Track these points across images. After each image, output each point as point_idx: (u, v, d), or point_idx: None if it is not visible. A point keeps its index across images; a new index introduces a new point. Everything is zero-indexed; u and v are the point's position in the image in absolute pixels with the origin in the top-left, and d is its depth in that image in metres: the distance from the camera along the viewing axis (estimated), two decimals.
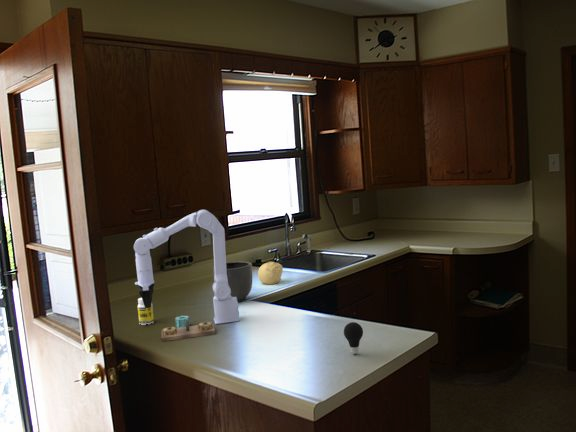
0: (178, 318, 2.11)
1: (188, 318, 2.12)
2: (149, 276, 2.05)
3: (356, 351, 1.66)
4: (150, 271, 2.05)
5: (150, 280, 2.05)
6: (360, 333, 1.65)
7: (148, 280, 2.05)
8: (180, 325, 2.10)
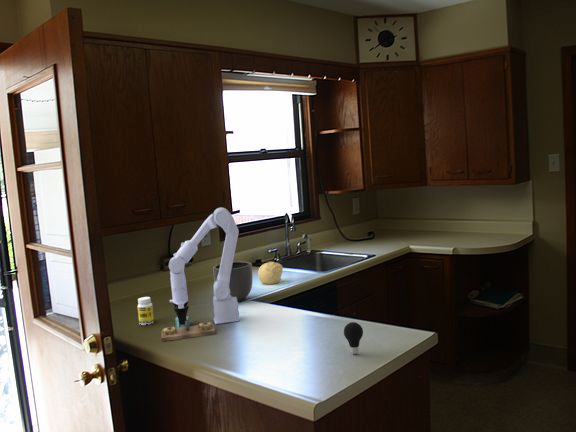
0: None
1: (188, 318, 2.12)
2: (184, 294, 2.09)
3: (356, 351, 1.66)
4: (185, 289, 2.10)
5: (185, 298, 2.10)
6: (360, 333, 1.65)
7: (183, 298, 2.09)
8: (180, 325, 2.10)
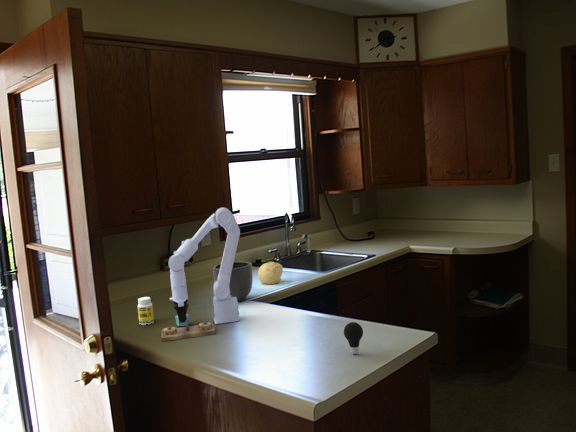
0: None
1: (188, 316, 2.12)
2: (184, 292, 2.09)
3: (356, 351, 1.66)
4: (184, 287, 2.10)
5: (184, 296, 2.09)
6: (360, 333, 1.65)
7: (183, 296, 2.09)
8: (180, 323, 2.10)
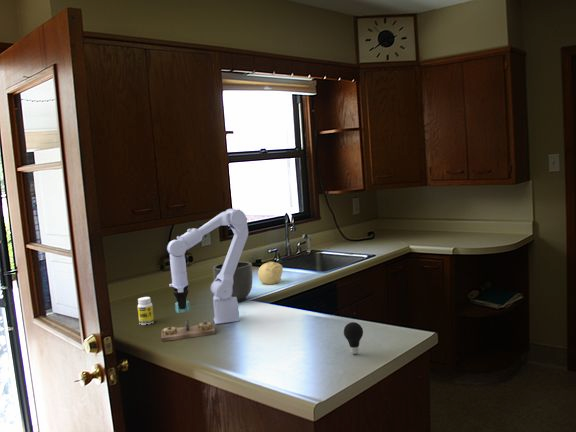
0: None
1: (188, 303, 2.08)
2: (184, 278, 2.05)
3: (356, 351, 1.66)
4: (184, 273, 2.05)
5: (184, 282, 2.05)
6: (360, 333, 1.65)
7: (183, 282, 2.04)
8: (179, 310, 2.06)
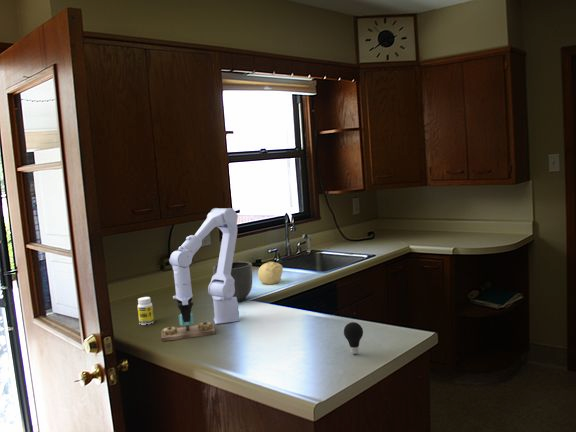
0: None
1: (192, 315, 2.01)
2: (188, 290, 1.98)
3: (356, 351, 1.66)
4: (189, 284, 1.99)
5: (189, 294, 1.99)
6: (360, 333, 1.65)
7: (187, 294, 1.98)
8: (183, 323, 1.99)
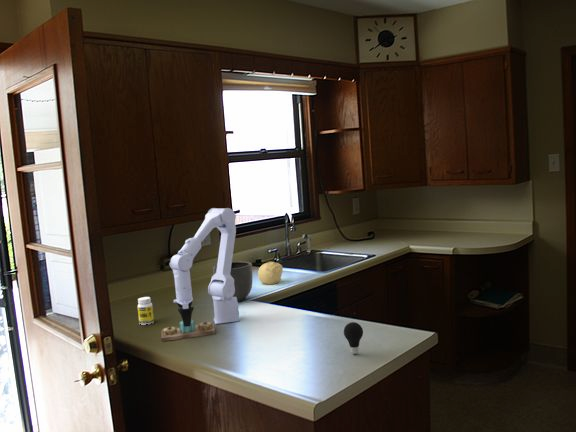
0: (182, 322, 2.01)
1: (193, 322, 2.02)
2: (188, 294, 1.99)
3: (356, 351, 1.66)
4: (189, 288, 1.99)
5: (189, 298, 1.99)
6: (360, 333, 1.65)
7: (187, 298, 1.98)
8: (184, 330, 2.00)
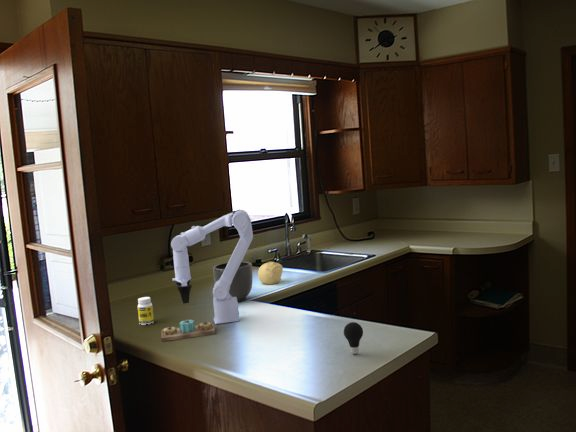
0: (182, 322, 2.01)
1: (193, 322, 2.02)
2: (187, 272, 2.10)
3: (356, 351, 1.66)
4: (187, 267, 2.11)
5: (187, 276, 2.10)
6: (360, 333, 1.65)
7: (186, 276, 2.10)
8: (184, 330, 2.00)
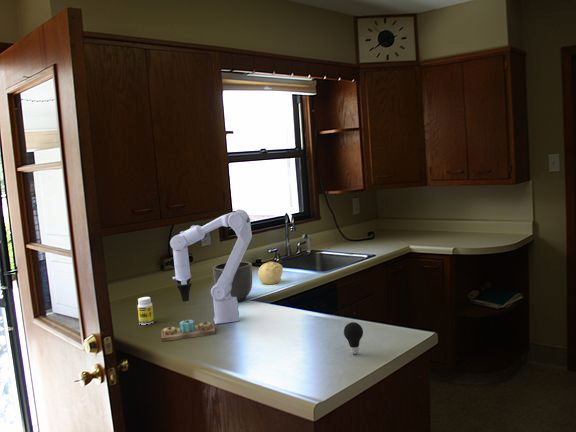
0: (182, 322, 2.01)
1: (193, 322, 2.02)
2: (186, 271, 2.13)
3: (356, 351, 1.66)
4: (187, 266, 2.13)
5: (187, 275, 2.13)
6: (360, 333, 1.65)
7: (186, 275, 2.12)
8: (184, 330, 2.00)
